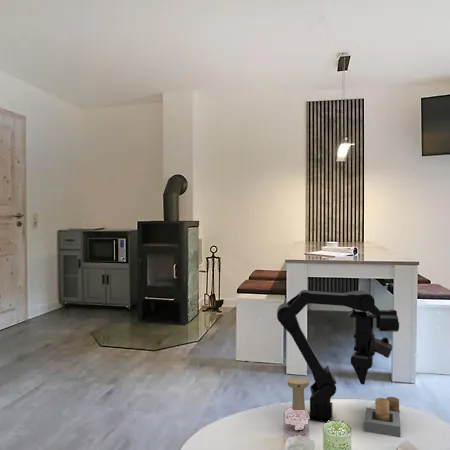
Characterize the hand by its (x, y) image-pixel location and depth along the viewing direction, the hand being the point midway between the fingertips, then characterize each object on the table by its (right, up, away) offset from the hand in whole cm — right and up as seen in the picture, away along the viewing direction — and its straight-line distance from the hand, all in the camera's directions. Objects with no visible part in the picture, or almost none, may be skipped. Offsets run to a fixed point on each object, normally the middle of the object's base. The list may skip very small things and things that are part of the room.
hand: (364, 379), depth 137 cm
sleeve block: (+4, -13, -5) cm, 14 cm away
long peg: (+4, -13, -5) cm, 14 cm away
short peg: (+11, -13, +5) cm, 18 cm away
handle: (-22, -14, -6) cm, 26 cm away
